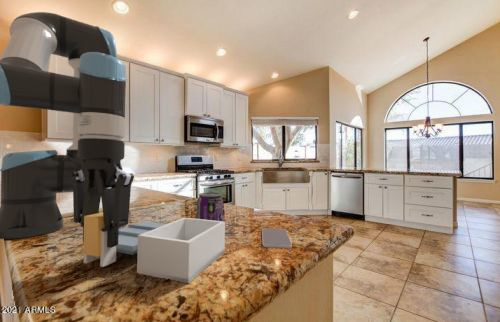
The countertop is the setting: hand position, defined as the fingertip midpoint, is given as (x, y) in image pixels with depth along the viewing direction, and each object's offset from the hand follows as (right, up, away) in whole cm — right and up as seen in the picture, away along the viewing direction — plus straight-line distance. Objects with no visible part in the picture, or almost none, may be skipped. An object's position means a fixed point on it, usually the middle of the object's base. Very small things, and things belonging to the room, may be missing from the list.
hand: (99, 261), depth 44 cm
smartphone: (+36, -3, +21) cm, 41 cm away
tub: (+15, -2, +4) cm, 16 cm away
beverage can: (+17, -2, +20) cm, 26 cm away
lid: (+2, 0, +7) cm, 8 cm away
